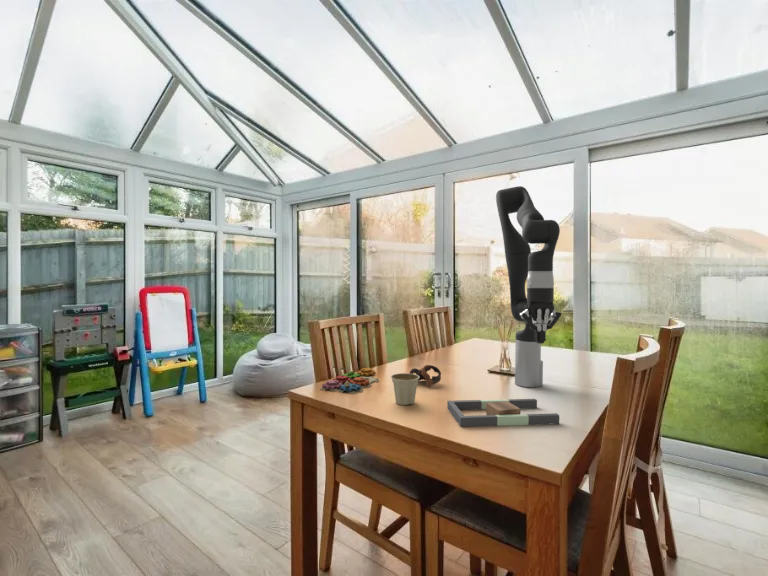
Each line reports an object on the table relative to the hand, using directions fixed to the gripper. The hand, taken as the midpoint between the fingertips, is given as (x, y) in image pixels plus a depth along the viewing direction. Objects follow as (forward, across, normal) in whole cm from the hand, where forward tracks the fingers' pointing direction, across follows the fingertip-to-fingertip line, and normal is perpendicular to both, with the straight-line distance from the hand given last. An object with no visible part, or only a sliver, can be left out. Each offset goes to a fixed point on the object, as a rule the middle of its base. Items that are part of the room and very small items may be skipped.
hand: (539, 343), depth 121 cm
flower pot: (+21, +40, -14) cm, 47 cm away
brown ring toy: (+22, +28, -35) cm, 50 cm away
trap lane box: (+21, +12, +2) cm, 25 cm away
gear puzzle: (+22, +54, -41) cm, 72 cm away
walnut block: (+22, +13, +4) cm, 26 cm away
